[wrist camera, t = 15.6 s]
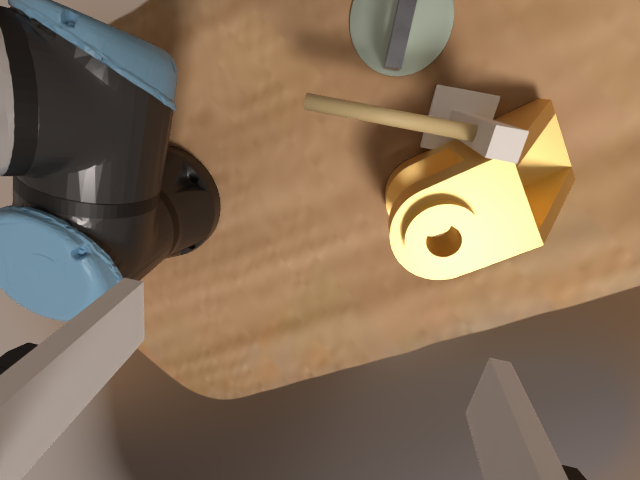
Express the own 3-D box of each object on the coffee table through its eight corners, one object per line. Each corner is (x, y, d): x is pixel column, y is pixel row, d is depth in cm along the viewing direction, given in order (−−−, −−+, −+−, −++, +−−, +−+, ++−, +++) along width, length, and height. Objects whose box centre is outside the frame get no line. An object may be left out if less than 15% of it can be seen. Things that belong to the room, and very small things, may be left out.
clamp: (402, 237, 51) (414, 301, 36) (373, 176, 48) (373, 217, 34) (561, 172, 46) (651, 216, 31) (538, 98, 43) (624, 107, 28)
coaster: (341, 66, 44) (341, 66, 44) (361, -48, 40) (361, -50, 40) (436, 84, 44) (437, 84, 43) (467, -30, 39) (468, -32, 39)
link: (383, 69, 43) (385, 66, 36) (405, -37, 40) (413, -64, 32) (396, 71, 43) (401, 69, 36) (420, -34, 39) (431, -61, 32)
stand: (318, 126, 47) (289, 150, 31) (328, 64, 44) (302, 53, 28) (477, 157, 46) (536, 199, 30) (498, 95, 43) (575, 104, 27)
